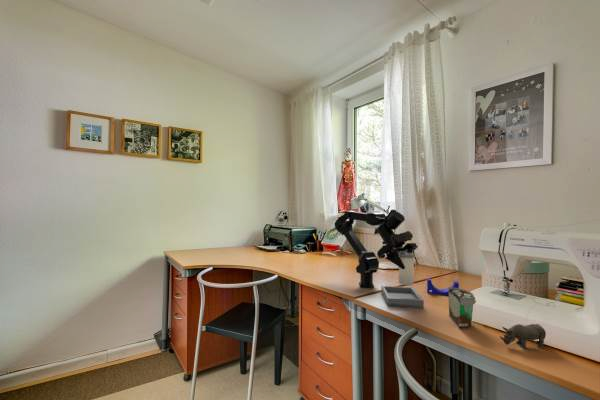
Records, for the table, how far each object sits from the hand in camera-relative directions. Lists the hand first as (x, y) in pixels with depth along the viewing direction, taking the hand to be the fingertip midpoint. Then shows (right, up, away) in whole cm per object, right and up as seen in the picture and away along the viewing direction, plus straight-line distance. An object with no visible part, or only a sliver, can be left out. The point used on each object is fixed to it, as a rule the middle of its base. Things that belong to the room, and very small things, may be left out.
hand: (409, 267), depth 111 cm
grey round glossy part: (-1, -7, +1) cm, 7 cm away
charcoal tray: (-2, -14, +2) cm, 14 cm away
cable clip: (+19, -14, +11) cm, 26 cm away
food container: (+11, -14, -19) cm, 26 cm away
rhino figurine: (+19, -14, -33) cm, 40 cm away
